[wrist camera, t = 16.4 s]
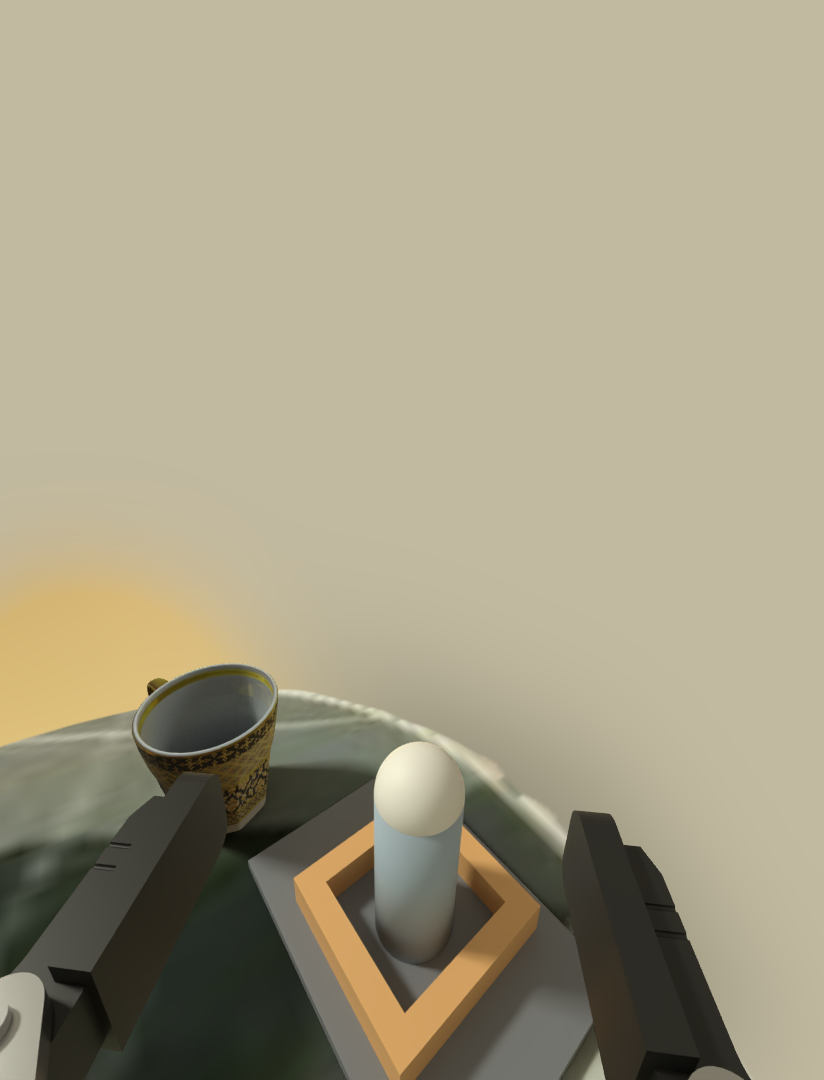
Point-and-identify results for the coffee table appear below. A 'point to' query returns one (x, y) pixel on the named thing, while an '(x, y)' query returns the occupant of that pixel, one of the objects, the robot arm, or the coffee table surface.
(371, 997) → the jig
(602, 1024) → the robot arm
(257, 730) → the ceramic cup
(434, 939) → the pale grey cylinder
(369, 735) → the coffee table surface
